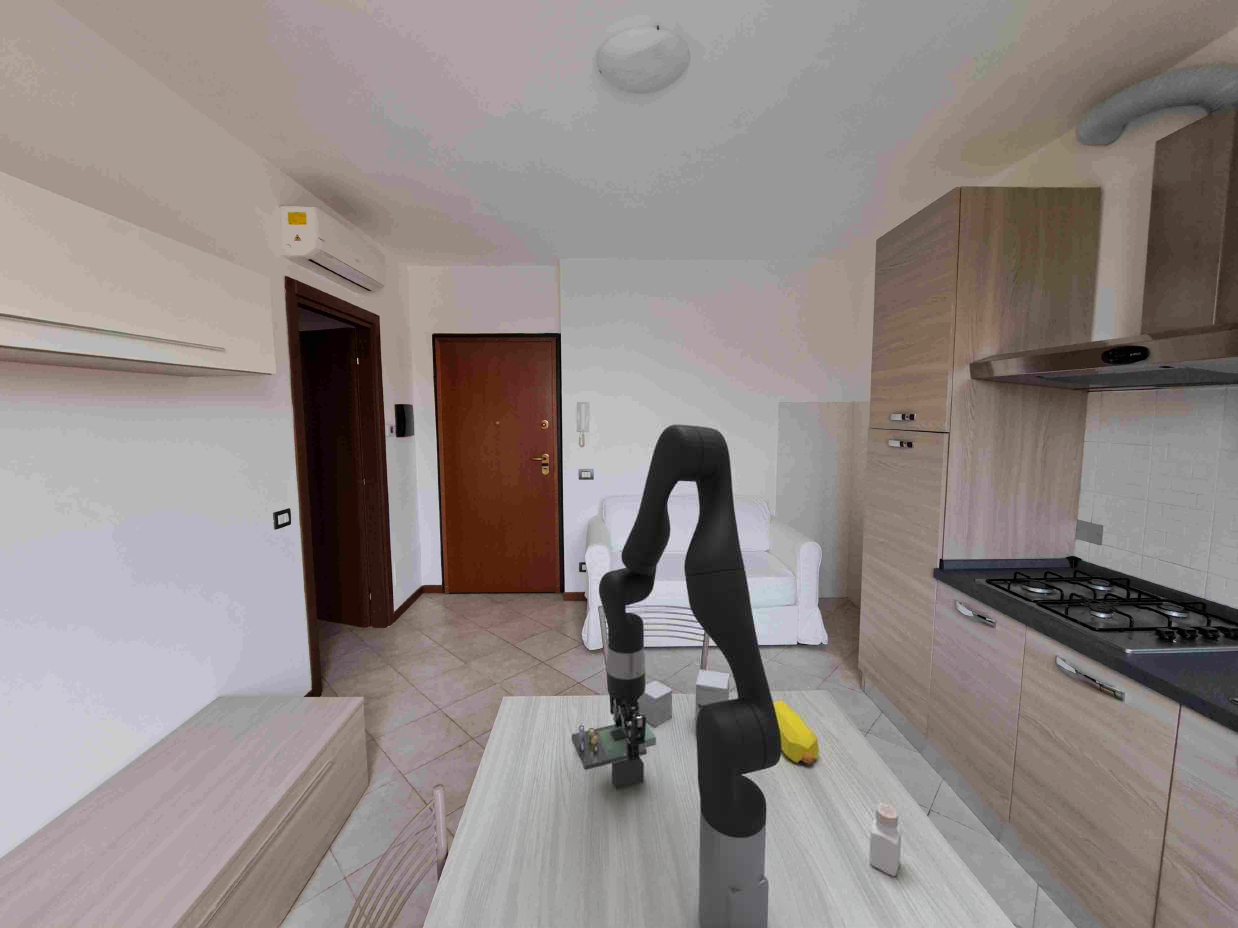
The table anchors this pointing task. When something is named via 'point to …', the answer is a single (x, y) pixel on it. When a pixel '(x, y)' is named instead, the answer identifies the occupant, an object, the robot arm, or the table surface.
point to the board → (621, 740)
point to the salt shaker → (885, 840)
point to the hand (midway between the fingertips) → (626, 748)
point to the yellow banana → (795, 735)
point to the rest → (627, 773)
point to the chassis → (595, 748)
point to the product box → (656, 703)
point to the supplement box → (711, 689)
